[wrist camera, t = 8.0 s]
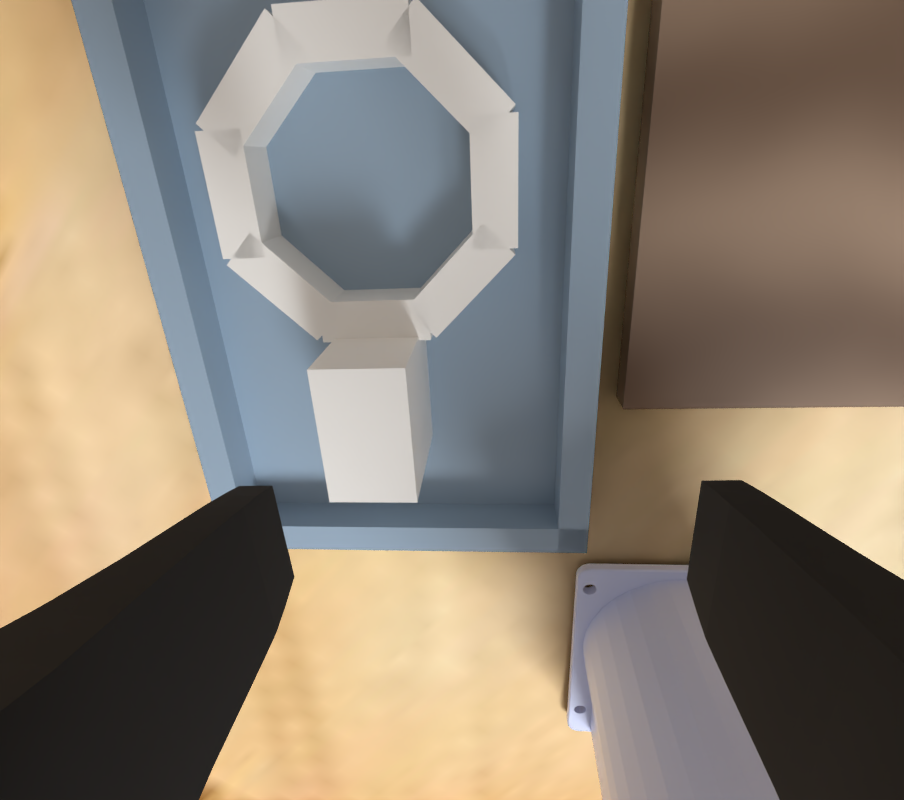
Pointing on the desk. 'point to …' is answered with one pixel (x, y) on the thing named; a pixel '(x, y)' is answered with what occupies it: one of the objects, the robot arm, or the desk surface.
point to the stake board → (768, 208)
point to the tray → (385, 261)
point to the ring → (305, 285)
